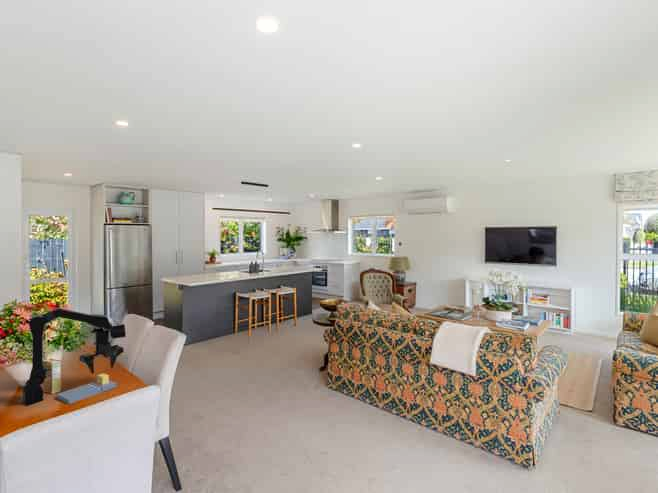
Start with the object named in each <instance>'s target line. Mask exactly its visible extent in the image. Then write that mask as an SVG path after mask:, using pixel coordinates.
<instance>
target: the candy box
mask: <svg viewBox="0 0 658 493" xmlns="http://www.w3.org/2000/svg"><path fill="white" fill-rule="evenodd" d="M61 361H62V360H59V359H54V358H49V359H43V364H44V367H45V366H48V368H47V373H48V375H47V378H45V381H44V383H42V384H41V385H42V389H43V392H46V393H49V394H50V395H51V394H52V395H53V394H56V393H57V394H58V393H59V392H62V382H61V381H62V378H61V377H62V362H61Z"/></svg>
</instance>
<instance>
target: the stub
mask: <svg viewBox="0 0 658 493" xmlns="http://www.w3.org/2000/svg"><path fill="white" fill-rule="evenodd" d="M109 376H110V375H109V374H106V373H100V374H97V375H96V380H94V381H92V382H89V383H88V384H90V385H93V386H96V387H99V388H101V392H102V393H103V392H106V391H109V390H113V389H114V388H117V384H118V383H117V382H115V381H112V380H109V378H110V377H109Z"/></svg>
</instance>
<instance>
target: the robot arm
mask: <svg viewBox="0 0 658 493" xmlns="http://www.w3.org/2000/svg"><path fill="white" fill-rule="evenodd" d="M59 318H61V319H62V318H63V319H67V320H71V321H72V320H73V321H77V322H82V323H87V324H88V325H90V326H93V328H92V329H91V331H90V333H91V334H95V337H94V338H95V342H93V345H94V346H95V347H94V348H95V350H94V351H93V354H92V353H85V354H80V356H79V357H78V358H79V359H78V361H79V362H81V363H85V365H86V366H87V367H88V369H89V371H90V373H91V374H92V375H93V374H94V372H95V366H94V364H95V358H99V357H102V356H103V357H104V358H109V365H110V368H111V369H113V368H114V365H115V363H116V360H117V358H118V357H119V356H121V355H122V354H123V353H124V348H123V346H119V344H115V345H112V344H111V341H110V338H112V339H115V340H116V339H122V338H126V335H127V334H126V327H125V326H126V325H125V324H124V323H121V324H115V325H113V324H112V323H111V322H110V321H109V317H108V316H107V315H106V314H95V313H94V314H90V313H89V314H88V313H85V312H80V311H74V310H69V309H66V308H62V307H57V308H55V309H53V310H51V311H48V312H46V313H44V314H36V315H33V316H32V317H31V319H30V320H29V322H28V324H29V325H28V326H29V330H30V333H31V336H32V351H31V352H32V355H31V356H32V358H31V360H32V362H31V363H32V366H31V371H30V374H29V379H27V381H26V382H25V383H24V385H23V387H22V401H20V403H21V404H23V405H25V406H31V405H33V404H36V403H39V402H43V401H45V399H44V391H43V389H42V386H41V385H42V383H44V381H45V378H47V375H48V373H47V368H48V366H45V367H44V364H43V360H44V332H45V329H46V324H49V323H50V322H52V321H54V320H56V319H59Z"/></svg>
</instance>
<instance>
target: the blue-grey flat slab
mask: <svg viewBox="0 0 658 493" xmlns="http://www.w3.org/2000/svg"><path fill="white" fill-rule="evenodd" d="M101 393H103V392H101V388H99V387H96V386H93V385H90V384H89V383H87V384H83V385H81V386H78V387H75V388H72V389H68V390H66V391H63V392H62V391H61V392H60V393H59V392H58V393H57V394H56V393H55V394H56V396H55V397H56V398H55V399H57V400H59V401H61V402H64V403H65V404H68V405H71V404H74V403H76V402H78V401H81V400H84V399H87V398H90V397H92V396H96V395H99V394H101Z"/></svg>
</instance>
